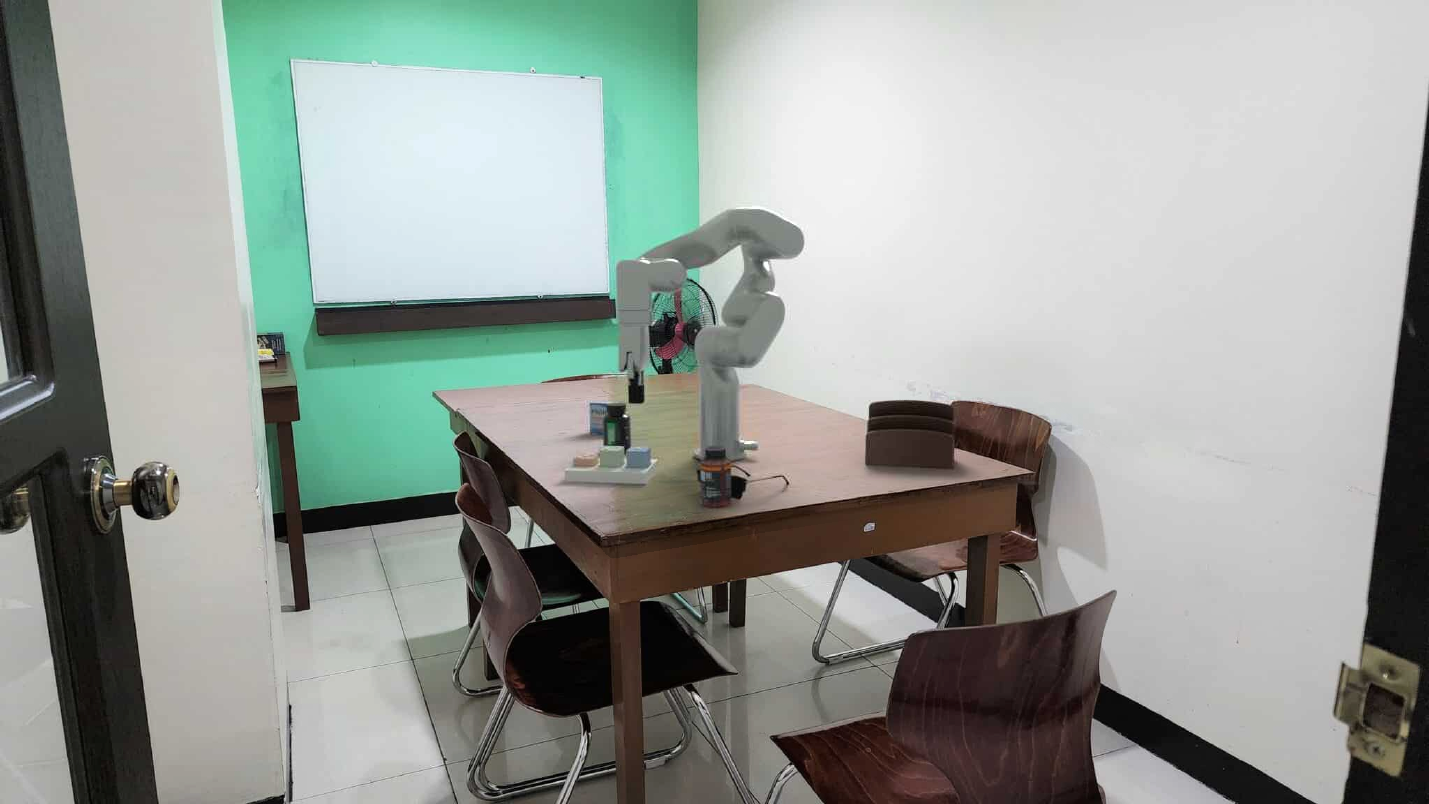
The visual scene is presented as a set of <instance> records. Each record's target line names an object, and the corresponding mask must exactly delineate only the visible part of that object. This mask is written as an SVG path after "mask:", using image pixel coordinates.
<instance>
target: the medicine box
mask: <svg viewBox="0 0 1429 804" xmlns="http://www.w3.org/2000/svg"><path fill="white" fill-rule="evenodd" d="M609 403H623V402H622V401H605V400H602V401H601V400H593V401H591V402H589V434H591V433H597V434H596V435H603V418H604V416H605V415H607V412H606V410H607V409H606V405H607V404H609Z"/></svg>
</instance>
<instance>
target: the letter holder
mask: <svg viewBox="0 0 1429 804" xmlns="http://www.w3.org/2000/svg"><path fill="white" fill-rule="evenodd" d="M866 424H867V425H866V435H865V451H864V452H865V457H864V459H865V460H864V461H865V462H864V465H868V466H873V465H874V466H885V465H887V466H889V467H907V468H908V467H910V468H927V469H930V468H931V469H947V470H949V469H950V470H953V469H954V468H955V442H956V441H955V427H956V426H955V408H954V406H953V405H951V404H948V403H942V402H937V401H931V400H930V401H929V400H916V399H915V400H914V399H902V400H901V399H899V400H898V399H896V400H881V401H880V400H879V401H872V402H871V403H870V404H869V405H868V420H867V423H866Z"/></svg>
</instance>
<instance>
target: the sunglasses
mask: <svg viewBox="0 0 1429 804" xmlns="http://www.w3.org/2000/svg"><path fill="white" fill-rule="evenodd" d="M731 468H736V469H737V470H739V471H741V472H742V473H743V474H745V475H746V476H747V477H751V476H752V475H751V474H750V473H749V472H747V471H746V470H744V469H743V468H740V467H739V466H738V465H733V464H731ZM695 473H696V474H697V482H699V485H700V487H701V468H696V469H695ZM776 478H783V480H784V481H785V484H786V485H787V486H788V485H790V482H789V481H788V479H787V478H786V477H785V476H784V475H782V474H780V475H774V476H770V477H764V478H759V479H758V478H757V479H746V478H745V477H742V476H739V475H734V474H733V475H732V474H731V496H732V498H733V499H737V500H741V499H742V498H743V495H744V492H745V493H746V489H747V484H749V483H750V484H751V483H754V482H760V481H766V480H771V479H776Z"/></svg>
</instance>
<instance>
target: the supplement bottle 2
mask: <svg viewBox="0 0 1429 804" xmlns="http://www.w3.org/2000/svg"><path fill="white" fill-rule="evenodd" d="M725 454H726V448H725V447H723V446H709V447H706V448H705V455H706V456H705V457H704V458H703V459H702V460H701V461H700V469H701V486H700V495H701V496H700V499H701V501H700V502H701V504H702V505H703V506H704V507H707V508H708V507H709V508H712V509H713V508H714V509H715V508H716V509H717V508H724V507H728V506H729V505H731V503H732V496H731V475H732V467H731V465H732V461H730V459H729V458H727V457H726V455H725Z"/></svg>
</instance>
